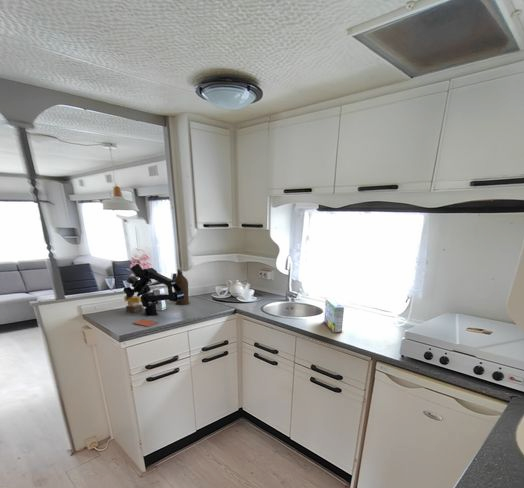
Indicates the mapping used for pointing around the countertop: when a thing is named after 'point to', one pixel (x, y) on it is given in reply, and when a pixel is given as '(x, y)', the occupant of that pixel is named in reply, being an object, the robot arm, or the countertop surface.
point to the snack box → (334, 315)
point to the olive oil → (182, 287)
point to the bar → (133, 299)
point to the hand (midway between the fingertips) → (132, 297)
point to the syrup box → (162, 303)
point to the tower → (133, 307)
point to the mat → (145, 323)
